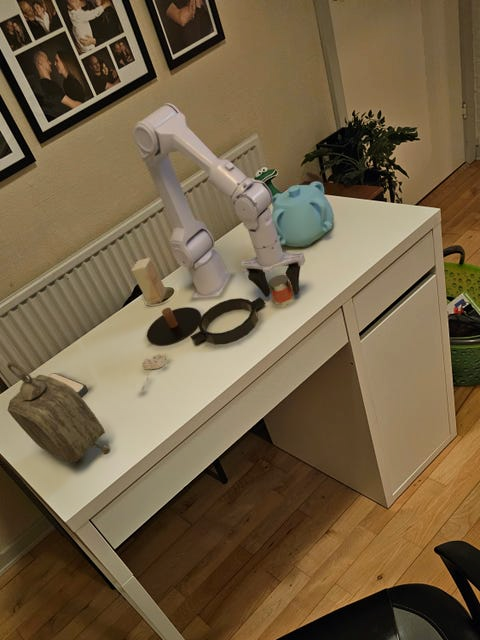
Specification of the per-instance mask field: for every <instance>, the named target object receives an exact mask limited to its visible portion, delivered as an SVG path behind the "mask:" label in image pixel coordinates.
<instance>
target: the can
mask: <svg viewBox="0 0 480 640" xmlns="http://www.w3.org/2000/svg"><path fill="white" fill-rule="evenodd" d="M268 285H269V288H270V294H271V298H272V300H273V303H274V304H275V305H276V306H277V307H285V306H288V305H290V304H291V303H292V302H293V301H294V300H295V295H294V293H293V290H292V286H291V283H290V281H289V279H288V277H287V275H286V274H277V275H274V276H273V277H271V278H270V279H269V281H268Z"/></svg>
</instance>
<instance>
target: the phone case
mask: <svg viewBox="0 0 480 640" xmlns="http://www.w3.org/2000/svg"><path fill="white" fill-rule="evenodd" d="M47 376H48V377H51V378H54V379H56V380H58V381H61V382H63V383H65V384H67V385H68V386H70V387H72V388H73V389H74V390H75V391H76V392H77V393H78V394H79V396H80V397H81V398H82V397H83V396H84V395H85V394H86V393H87V392H88V387H87V386H86V384H84V383H82V382H79V381H77V380H74V379H71V378H69V377H66V376H64V375H62V374H59V373H56V372H53V373H50V374H49V375H47Z"/></svg>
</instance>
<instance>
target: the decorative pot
mask: <svg viewBox="0 0 480 640" xmlns="http://www.w3.org/2000/svg"><path fill="white" fill-rule="evenodd" d="M272 198H273V199H272V203H271V205H272V211H271V214H272V218H273V221H274V224H275V228H276V231H277V234H278V238H279V241H280V245H281V246H283V245H285V246H289V247H297V248H299V247H303V248H307V247H310V246H311V245H312V244H313V243H314V242H316V241H317V240H319V239H320V238H322V237H323V236H324V235H325V234H327V232H330V231H331V230H332V228H333V225H332V224H333V222H334V219H335V218H334V217H335V214H334V211H333V208H332V206H331V203H330V202H329V200H328V198H327V196H326V195H325V186H324V184H323V183H322V182H321V181H312V182H311V183H310V184H294V185H292V186H290V187H288V188H287V190H286V191H284V192H283V193H276V194H274V195H272Z"/></svg>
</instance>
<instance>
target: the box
mask: <svg viewBox="0 0 480 640" xmlns="http://www.w3.org/2000/svg"><path fill="white" fill-rule="evenodd" d="M130 271H131V273H132V275H133V277H134V279H135V281H136V283H137V285H138V287H139V289H140V291H141V292H142V294H143V297H144V298H145V301H146V302H147V304H149V305H150V304H156V303H160V302H162V301H163V299H164V297H165V295H166V293H167V289H166V287H165V285H164V283H163V281H162V279H161V277H160V275H159V273H158V271H157V269H156V266H155V264H154V263H153V260H152V258H151V257H146V258H142V259H138V260H136V262H135V263H134V264H133V266H132V268H131V270H130Z"/></svg>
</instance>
